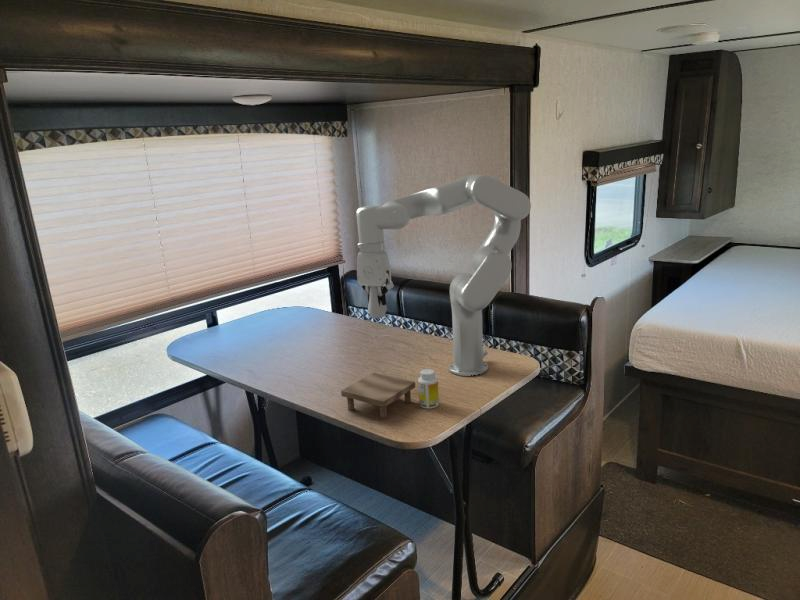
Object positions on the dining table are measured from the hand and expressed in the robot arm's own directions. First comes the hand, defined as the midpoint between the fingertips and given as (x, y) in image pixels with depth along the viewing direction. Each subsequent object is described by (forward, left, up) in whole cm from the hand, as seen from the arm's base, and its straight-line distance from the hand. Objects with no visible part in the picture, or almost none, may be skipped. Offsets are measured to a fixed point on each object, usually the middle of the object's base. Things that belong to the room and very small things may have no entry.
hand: (377, 306), depth 176 cm
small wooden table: (+15, +11, -24) cm, 31 cm away
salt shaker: (0, 0, -4) cm, 4 cm away
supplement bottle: (+8, +23, -25) cm, 35 cm away
